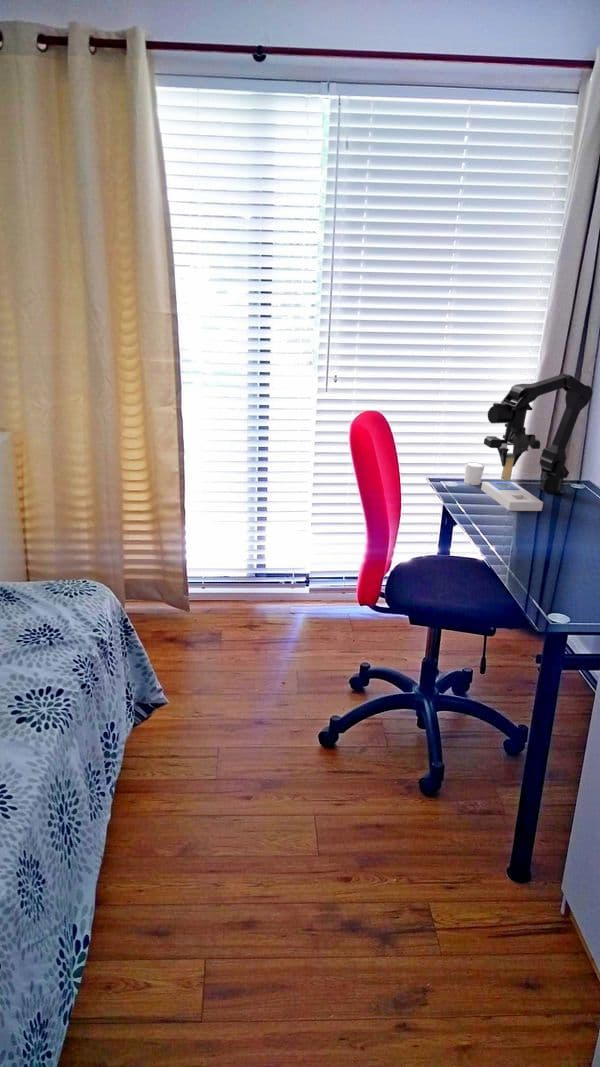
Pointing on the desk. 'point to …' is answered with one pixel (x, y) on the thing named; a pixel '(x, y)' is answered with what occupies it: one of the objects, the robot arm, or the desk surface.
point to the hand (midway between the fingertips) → (507, 466)
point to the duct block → (512, 496)
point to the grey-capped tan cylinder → (508, 467)
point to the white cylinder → (473, 473)
